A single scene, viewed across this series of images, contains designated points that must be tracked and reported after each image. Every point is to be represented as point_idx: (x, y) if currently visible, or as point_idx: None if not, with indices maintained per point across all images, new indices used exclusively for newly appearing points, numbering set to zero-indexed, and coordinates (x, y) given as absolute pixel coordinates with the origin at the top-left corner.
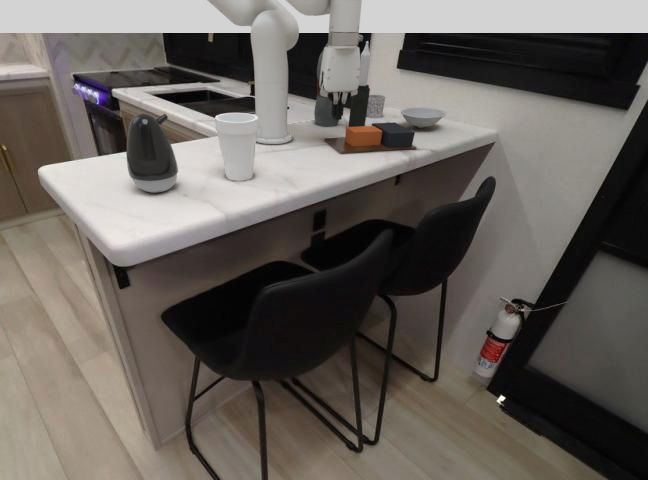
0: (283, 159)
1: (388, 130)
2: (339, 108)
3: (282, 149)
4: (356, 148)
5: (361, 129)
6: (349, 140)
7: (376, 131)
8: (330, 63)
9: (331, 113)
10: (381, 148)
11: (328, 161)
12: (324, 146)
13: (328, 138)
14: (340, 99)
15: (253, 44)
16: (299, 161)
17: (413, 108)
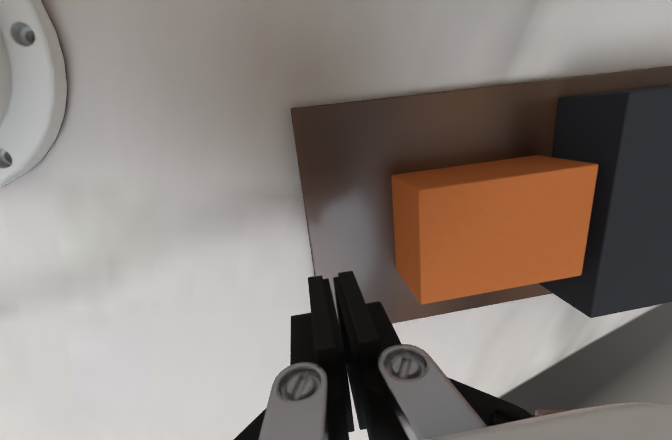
0: (51, 404)
1: (615, 267)
2: (353, 395)
3: (28, 274)
4: (405, 294)
5: (486, 249)
6: (399, 239)
7: (548, 280)
8: None
9: (292, 321)
10: (509, 293)
11: (250, 411)
12: (268, 226)
13: (313, 117)
14: (390, 423)
15: None
16: (127, 419)
17: None
